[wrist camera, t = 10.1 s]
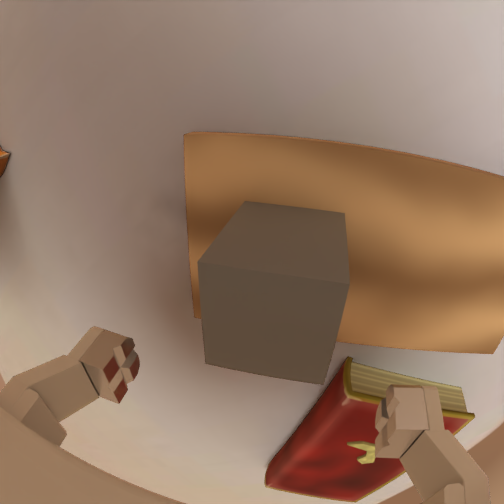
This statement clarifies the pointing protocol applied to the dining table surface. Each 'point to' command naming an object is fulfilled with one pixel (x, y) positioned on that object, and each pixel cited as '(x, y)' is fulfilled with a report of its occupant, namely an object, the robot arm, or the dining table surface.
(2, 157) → the pancake mix bag
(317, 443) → the hardcover book
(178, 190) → the dining table surface
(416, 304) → the board
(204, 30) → the dining table surface
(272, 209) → the gray rectangular block
